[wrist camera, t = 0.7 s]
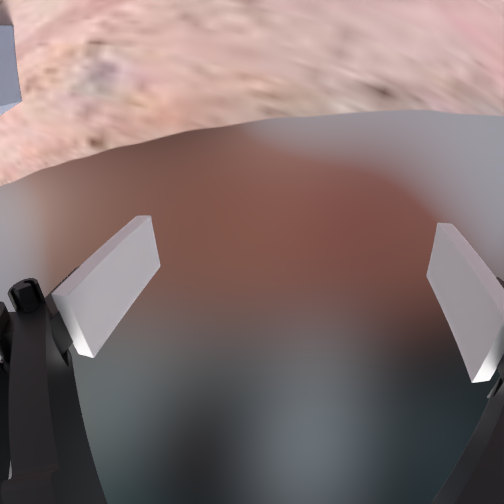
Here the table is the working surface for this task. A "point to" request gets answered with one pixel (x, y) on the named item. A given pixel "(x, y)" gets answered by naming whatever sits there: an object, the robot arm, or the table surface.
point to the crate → (8, 70)
